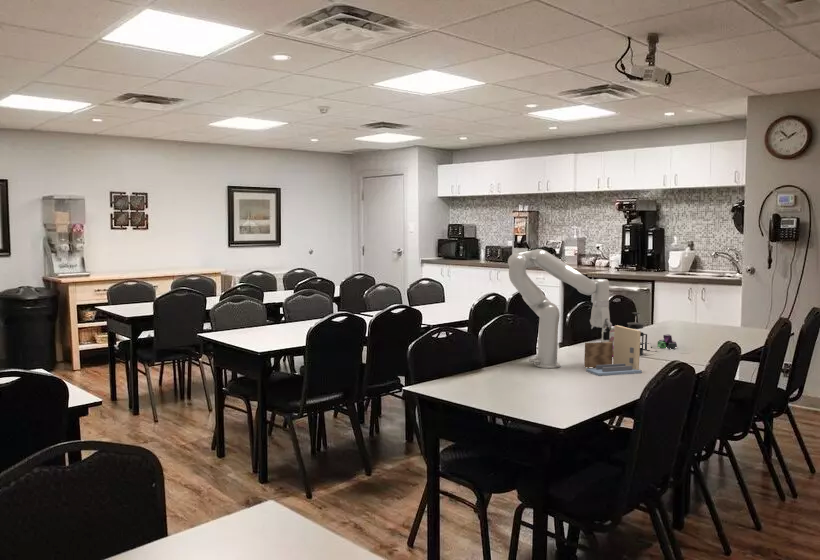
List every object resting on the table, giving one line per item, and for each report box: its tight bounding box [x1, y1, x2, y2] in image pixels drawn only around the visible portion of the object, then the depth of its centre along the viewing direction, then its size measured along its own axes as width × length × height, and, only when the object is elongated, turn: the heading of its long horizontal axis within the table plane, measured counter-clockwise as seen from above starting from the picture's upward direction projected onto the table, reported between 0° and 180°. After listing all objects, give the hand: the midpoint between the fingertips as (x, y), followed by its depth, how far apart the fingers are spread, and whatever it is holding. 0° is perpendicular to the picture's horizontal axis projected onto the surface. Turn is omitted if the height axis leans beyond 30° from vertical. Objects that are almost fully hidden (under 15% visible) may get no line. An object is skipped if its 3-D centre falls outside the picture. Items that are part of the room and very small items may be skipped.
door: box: [583, 341, 613, 369], centre depth 326 cm, size 15×3×12 cm, turn 108°
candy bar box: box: [600, 325, 615, 357], centre depth 351 cm, size 11×5×16 cm, turn 62°
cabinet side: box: [585, 324, 643, 377], centre depth 318 cm, size 24×20×20 cm
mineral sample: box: [657, 333, 678, 350], centre depth 381 cm, size 35×35×9 cm
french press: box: [626, 311, 648, 357], centre depth 359 cm, size 12×9×23 cm
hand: (600, 338), depth 325 cm, fingers open, 9 cm apart
